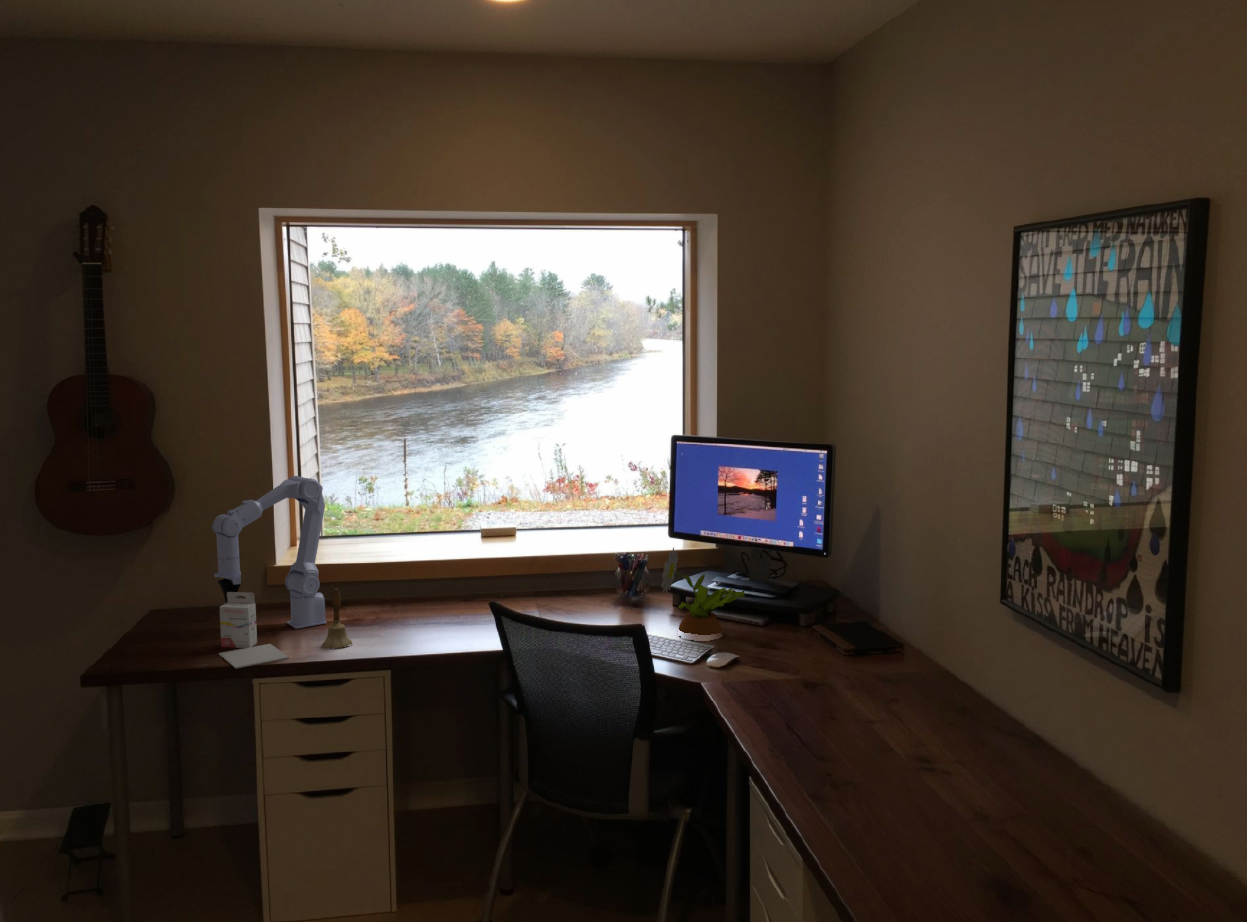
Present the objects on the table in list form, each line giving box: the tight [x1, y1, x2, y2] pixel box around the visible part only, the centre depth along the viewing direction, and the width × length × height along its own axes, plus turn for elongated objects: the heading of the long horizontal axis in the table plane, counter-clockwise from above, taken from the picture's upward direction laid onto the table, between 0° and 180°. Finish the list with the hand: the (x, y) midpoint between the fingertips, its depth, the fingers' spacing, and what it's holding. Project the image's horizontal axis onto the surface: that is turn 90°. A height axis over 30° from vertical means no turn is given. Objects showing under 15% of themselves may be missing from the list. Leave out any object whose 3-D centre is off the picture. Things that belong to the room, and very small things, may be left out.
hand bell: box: [321, 588, 353, 650], centre depth 292 cm, size 8×8×16 cm
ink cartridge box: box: [219, 591, 258, 649], centre depth 292 cm, size 9×5×15 cm, turn 84°
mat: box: [218, 643, 290, 670], centre depth 283 cm, size 14×15×1 cm
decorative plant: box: [660, 547, 746, 635], centre depth 298 cm, size 27×24×25 cm
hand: (231, 604), depth 296 cm, fingers closed
